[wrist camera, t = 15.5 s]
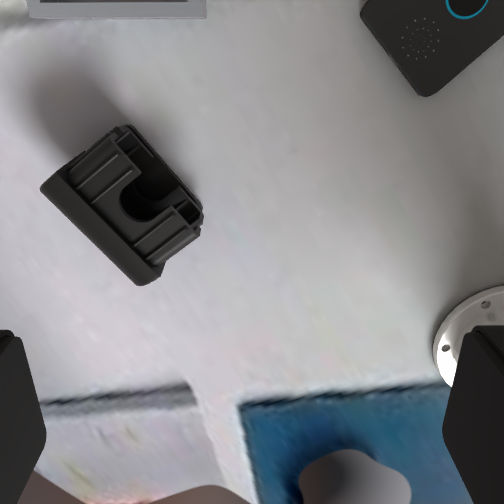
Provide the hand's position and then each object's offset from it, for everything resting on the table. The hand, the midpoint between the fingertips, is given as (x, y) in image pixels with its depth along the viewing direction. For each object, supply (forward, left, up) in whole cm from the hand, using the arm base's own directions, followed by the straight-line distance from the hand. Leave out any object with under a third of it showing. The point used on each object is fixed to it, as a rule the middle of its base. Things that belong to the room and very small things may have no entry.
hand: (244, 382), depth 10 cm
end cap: (+9, +5, -29) cm, 30 cm away
